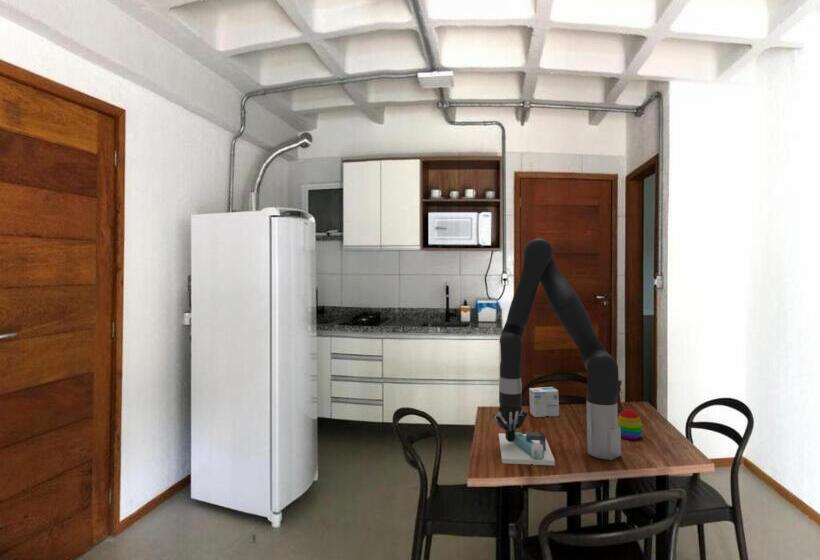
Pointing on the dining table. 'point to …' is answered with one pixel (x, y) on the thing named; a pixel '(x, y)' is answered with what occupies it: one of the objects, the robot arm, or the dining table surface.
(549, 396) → the light bulb box
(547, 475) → the dining table surface
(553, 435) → the dining table surface
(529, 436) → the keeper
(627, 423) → the decorative egg
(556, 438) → the dining table surface
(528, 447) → the teal long piece
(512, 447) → the board
